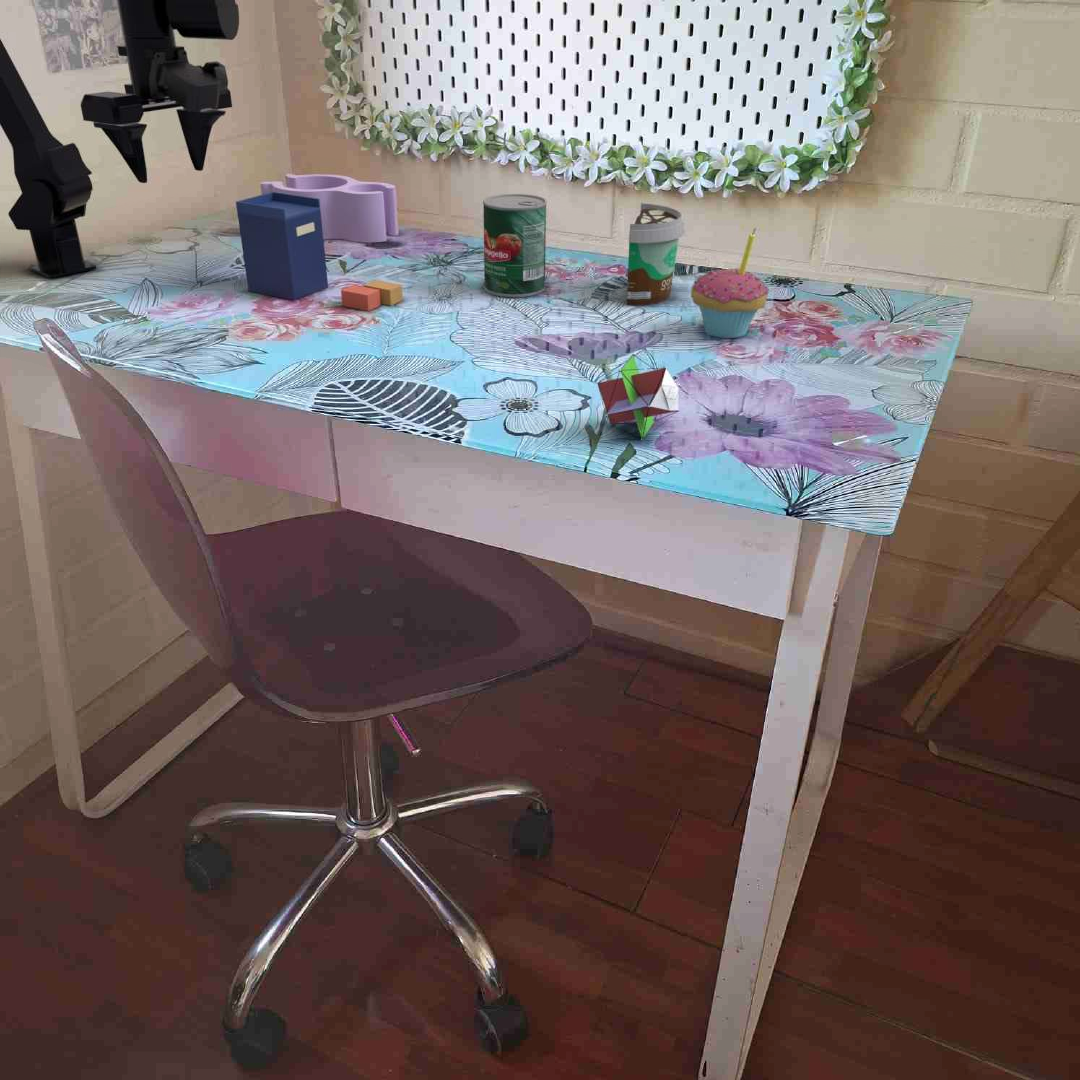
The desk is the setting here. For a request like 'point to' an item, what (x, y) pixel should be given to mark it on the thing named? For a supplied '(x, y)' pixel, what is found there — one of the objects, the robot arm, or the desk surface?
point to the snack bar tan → (387, 291)
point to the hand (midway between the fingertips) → (171, 176)
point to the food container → (653, 254)
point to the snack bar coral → (360, 297)
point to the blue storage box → (282, 244)
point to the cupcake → (729, 298)
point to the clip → (346, 205)
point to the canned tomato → (514, 245)
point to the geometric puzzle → (639, 396)
